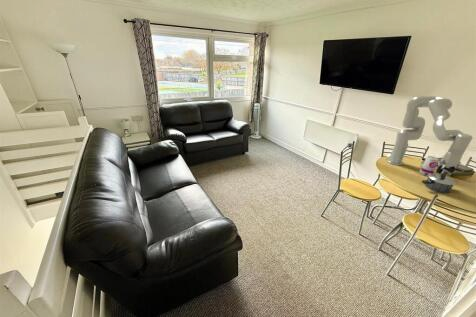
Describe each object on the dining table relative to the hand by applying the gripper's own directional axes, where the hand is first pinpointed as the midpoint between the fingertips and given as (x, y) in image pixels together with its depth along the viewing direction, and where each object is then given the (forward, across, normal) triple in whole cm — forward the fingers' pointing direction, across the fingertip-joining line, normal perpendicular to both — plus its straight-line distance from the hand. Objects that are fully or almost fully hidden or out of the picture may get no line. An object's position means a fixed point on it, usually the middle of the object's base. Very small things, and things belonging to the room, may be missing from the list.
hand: (444, 172), depth 148 cm
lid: (+6, 0, +1) cm, 6 cm away
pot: (+13, +2, +1) cm, 13 cm away
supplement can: (+13, -10, -18) cm, 25 cm away
